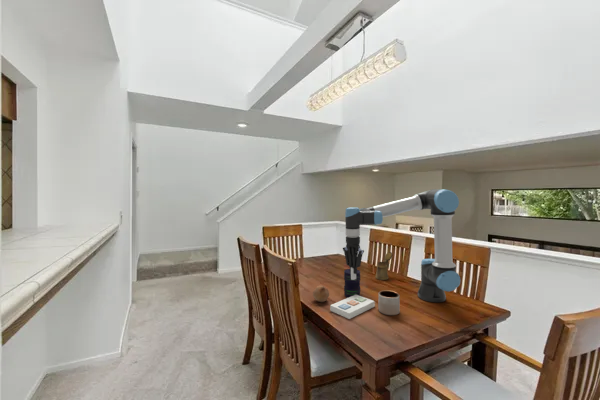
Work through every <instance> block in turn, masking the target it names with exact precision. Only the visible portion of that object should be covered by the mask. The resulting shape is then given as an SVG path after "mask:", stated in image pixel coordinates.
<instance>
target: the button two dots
mask: <svg viewBox="0 0 600 400" xmlns="http://www.w3.org/2000/svg"><path fill="white" fill-rule="evenodd" d="M362 297H363V296H362ZM362 297H358V298H356V299H355V300H356V301H359V302H364V301H366V300H367V299H368V298H367V299H365V298H366V297H364V298H362Z"/></svg>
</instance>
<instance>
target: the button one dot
mask: <svg viewBox="0 0 600 400" xmlns="http://www.w3.org/2000/svg"><path fill="white" fill-rule="evenodd" d="M338 307H339V308H341V309H344V310H347V309H349V308H351V306H349V305H346V304H342V305H340V306H338Z"/></svg>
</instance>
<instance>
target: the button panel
mask: <svg viewBox="0 0 600 400" xmlns="http://www.w3.org/2000/svg"><path fill="white" fill-rule="evenodd" d="M358 297H362V298H365V299H367V300H366V301H364V302H359V301H356V300H355V299H356V298H358ZM351 300H353V301H356V302H359V304H357V305H355V306H352V305H349V304H347V302H349V301H351ZM375 302H376V301H374V300H372V299H370V298H367V297H364V296H361V295H360V296H359V295H353V296H351V297H349V298H348V297H345V298H344V299H342V300H339V301H337V302H335V303H333V304H332V303H331V304H330V307H329V308H330V309H329V310H330V312H332V313H334V314H337V315H339V316H341V317H343V318H346V319H348V320H351V319H352V318H354V317H357V316H358V315H359V316H360V314H362V313H364V312H366V311H369V310H370V309H373V308H374V307H375V306H376V304H375ZM342 304H346V305H349V306H351V308H349V309H347V310H344V309H341V308H339V307H338V306H340V305H342Z"/></svg>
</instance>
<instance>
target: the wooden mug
mask: <svg viewBox="0 0 600 400" xmlns="http://www.w3.org/2000/svg"><path fill="white" fill-rule="evenodd" d="M392 258H393V252H391V251H390V252H387V253H386V254H385V256H384V261H377V263H376V267H377V268H376V274H375V279H376V280H381V281H387V280H388V279H389V274H388V269H389V261H390V260H391V259H392Z"/></svg>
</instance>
